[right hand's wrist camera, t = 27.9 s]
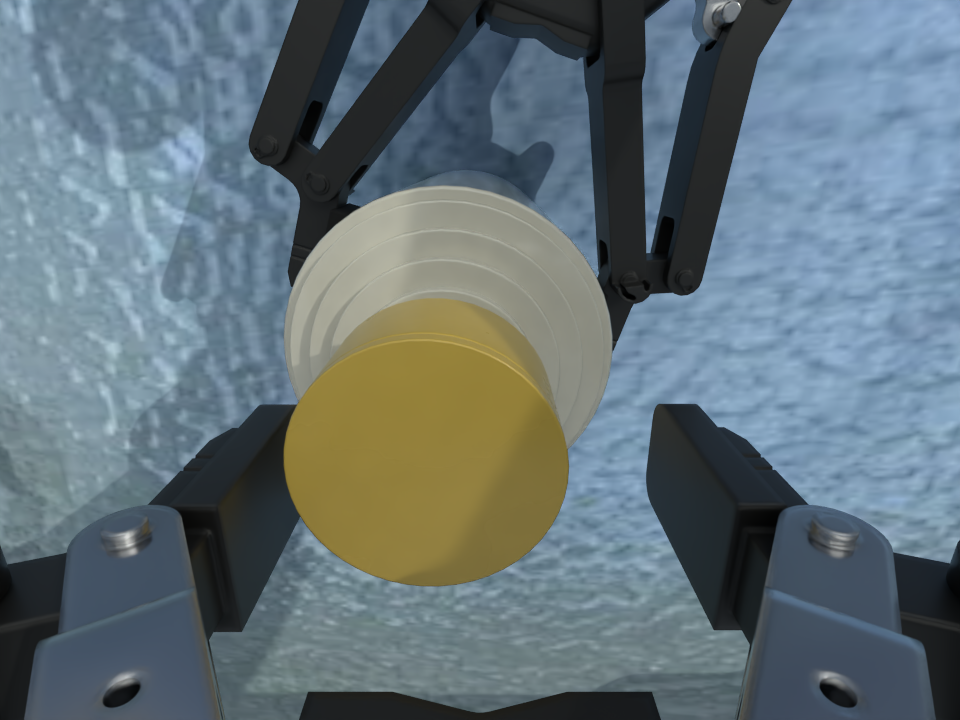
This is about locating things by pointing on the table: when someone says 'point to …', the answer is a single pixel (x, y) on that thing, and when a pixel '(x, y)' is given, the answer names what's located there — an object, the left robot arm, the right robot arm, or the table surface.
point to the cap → (429, 446)
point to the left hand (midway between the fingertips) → (426, 403)
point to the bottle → (458, 281)
